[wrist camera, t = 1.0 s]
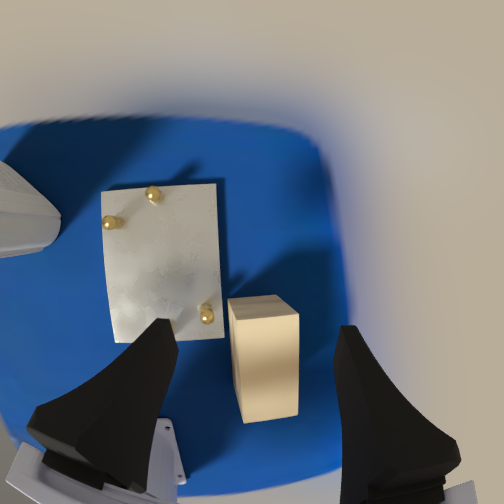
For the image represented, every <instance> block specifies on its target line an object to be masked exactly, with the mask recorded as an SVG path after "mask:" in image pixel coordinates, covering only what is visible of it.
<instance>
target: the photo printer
mask: <svg viewBox="0 0 504 504" xmlns="http://www.w3.org/2000/svg"><path fill="white" fill-rule="evenodd" d="M60 217H61V214H60V213H59V212H58V210H57V209H56V208H55V207H54V206H53V205H52V204H51V203H50V202H49V201H48V200H47V199H46V198H45V197H44V196H43V195H42V194H41V193H39V192H38V191H37V190H36V189H35V188H34V187H33V186H32V185H31V184H29V183H28V182H27V181H26V180H25V179H24V178H23V177H22V176H20V175H19V174H18V173H17V172H16V171H15V170H13V169H12V168H11V167H10V166H8V165H7V164H5V163H4V162H1V161H0V258H4V257H10V256H16V255H22V254H28V253H34V252H39V251H42V250H43V249H44V247H46V246H48V245H50V244H51V243H53V241H54V240H55V239H56V237H57V236H58V233H59V230H60V224H61V221H60Z"/></svg>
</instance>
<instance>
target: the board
mask: <svg viewBox="0 0 504 504" xmlns="http://www.w3.org/2000/svg"><path fill="white" fill-rule="evenodd" d="M227 300H228V316H229V331H230V345H231V358H232V371H233V384H234V389H235V393H236V396H237V400H238V404H239V408H240V412H241V415H242V419H243V423H251V422H258V421H265V420H272V419H278V418H284V417H290V416H295V415H298V390H299V314H298V313H297V312H296V311H295V310H294V309H292V308H291V307H290V306H289V305H288V304H287V303H285V302H284V301H283V300H282V299H281V298H280V297H278V296H277V295H266V296H254V297H242V298H229V299H227Z"/></svg>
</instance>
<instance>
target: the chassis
mask: <svg viewBox="0 0 504 504" xmlns="http://www.w3.org/2000/svg"><path fill="white" fill-rule="evenodd" d="M101 207H102V233H103V249H104V261H105V272H106V282H107V290H108V298H109V306H110V313H111V320H112V326H113V332H114V338H115V343H133V342H134V341H135V340H136V339H137V338H138V337H139V336H140V335H141V334H142V332H143V331H144V330H145V329H146V328H147V327H148V326H149V325H150V324H151V323H152V322H153V321H154V320H155V319H156V318H164V319H170V322H171V326H172V329H173V333H174V336H175V340H176V341H185V340H201V339H215V338H225V337H224V323H223V309H222V294H221V278H220V261H219V242H218V221H217V197H216V184H196V185H178V186H163V187H155V186H150V187H148V188H137V189H125V190H115V191H105V192H101Z"/></svg>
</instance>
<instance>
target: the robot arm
mask: <svg viewBox="0 0 504 504" xmlns="http://www.w3.org/2000/svg"><path fill="white" fill-rule="evenodd" d="M178 351H179V350H178V346H177V343H176V340H175V336H174V333H173V329H172V326H171V322H170V319H164V318H156V319H155V320H154V321H153V322H152V323H151V324H150V325H149V326H148V327H147V328H146V329H145V330H144V331H143V332H142V334H141V335H140V336H139V337H138V338H137V339H136V340H135V341H134V342H133V343H132V344H131V345H130V346H129V347H128V348H127V349H126V350H125V351H124V352H123V353H122V354H120V355H119V356H118V357H117V358H116V359H115V360H114V361H113V362H112V363H111V364H109V365H108V366H107V367H106V368H105V369H103V370H102V371H101V372H99V373H98V374H97V375H95V376H94V377H93V378H91V379H90V380H88V381H87V382H85V383H83V384H82V385H80V386H79V387H77V388H76V389H74V390H72V391H70V392H69V393H67V394H65V395H63V396H61V397H59V398H57V399H54V400H52V401H50V402H47V403H45V404H42V405H40V406H37V407H36V409H35V411H34V413H33V415H32V417H31V419H30V420H29V422H28V424H27V426H26V429H27V431H28V433H29V434H30V435H31V436H32V437H33V438H34V439H35V440H37V441H38V442H39V443H40V444H41V445H42V446H44V447H45V448H46V449H47V450H46V452H45V454H44V453H43V452H41V451H40V450H38V449H36V448H34V447H33V446H31V445H29V444H27V443H25V442H22V444H21V446H20V448H19V451H18V453H17V455H16V457H15V459H14V462H13V464H12V466H11V468H10V471H9V473H8V476H7V478H6V482H7V483H9V484H10V485H12V486H13V487H15V488H16V489H17V490H19V491H21V492H22V493H23V494H25V495H27V496H28V497H29V498H31V499H32V500H34V501H36V502H37V503H39V504H178V503H177V484H185V483H186V477H185V473H184V469H183V466H182V462H181V458H180V454H179V450H178V446H177V442H176V438H175V433H174V429H173V425H172V421H171V420H170V419H168V418H158V415H159V412H160V409H161V406H162V403H163V400H164V398H165V395H166V392H167V389H168V387H169V384H170V381H171V378H172V376H173V373H174V370H175V365H176V361H177V356H178ZM334 374H335V384H336V390H337V397H338V403H339V410H340V417H341V425H342V481H341V495H340V504H478V503H477V497H476V491H475V486H474V481H472V480H471V481H469V482H466V483H463V484H460V485H457V486H454V487H451V488H449V489H446V490H443V485H444V484H445V483H446V480H445V475H446V474H448V473H449V472H451V471H452V470H453V469H454V468H456V467H457V466H458V465H459V463H460V462H461V457H460V452H459V448H458V446H457V443H456V440H454V439H453V438H451V437H450V436H448V435H447V434H445V433H444V432H443V431H441V430H440V429H438V428H437V427H436V426H435V425H433V424H432V423H431V422H429V420H427V419H426V418H425V417H424V416H423V415H422V414H421V413H420V412H419V411H418V410H417V409H416V408H415V407H413V406H412V404H411V403H410V402H409V401H408V400H407V399H406V398H405V397H404V396H403V395H402V394H401V392H399V390H398V389H397V388H396V386H395V385H394V384H393V383H392V381H391V380H390V379H389V377H388V376H387V375H386V373H385V372H384V370H383V369H382V368H381V366H380V365H379V363H378V362H377V360H376V359H375V357H374V356H373V354H372V352H371V351H370V349H369V347H368V346H367V344H366V342H365V341H364V339H363V337H362V335H361V334H360V332H359V330H358V328H357V327H356V326H355V325H350V326H341V328H340V332H339V337H338V341H337V346H336V350H335V354H334ZM166 426H168V427H170V428H166Z"/></svg>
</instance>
